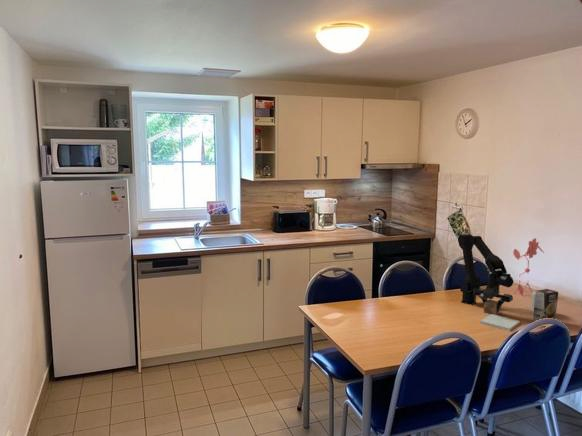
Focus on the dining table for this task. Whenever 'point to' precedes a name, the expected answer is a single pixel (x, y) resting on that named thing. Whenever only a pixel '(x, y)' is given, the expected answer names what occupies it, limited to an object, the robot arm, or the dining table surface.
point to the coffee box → (545, 304)
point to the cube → (491, 307)
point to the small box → (533, 301)
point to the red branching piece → (531, 252)
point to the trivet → (500, 322)
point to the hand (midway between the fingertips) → (491, 310)
